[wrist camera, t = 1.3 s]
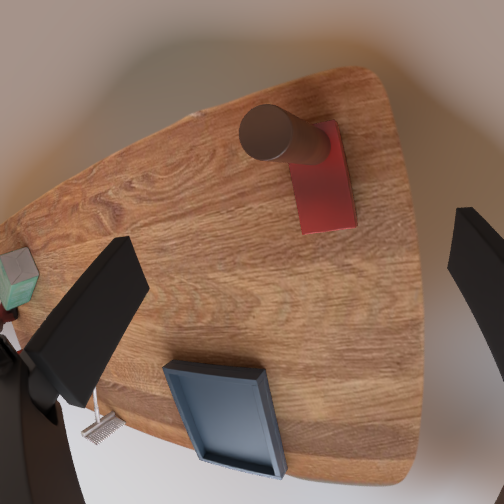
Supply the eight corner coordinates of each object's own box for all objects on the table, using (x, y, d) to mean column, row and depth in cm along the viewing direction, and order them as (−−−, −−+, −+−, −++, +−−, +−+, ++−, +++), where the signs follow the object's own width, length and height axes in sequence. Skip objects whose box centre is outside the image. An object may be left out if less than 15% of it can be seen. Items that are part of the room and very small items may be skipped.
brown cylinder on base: (292, 135, 26) (221, 114, 16) (340, 124, 24) (297, 89, 14) (311, 229, 28) (252, 264, 17) (360, 222, 25) (331, 256, 15)
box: (17, 276, 60) (-7, 284, 54) (27, 245, 54) (-2, 253, 47) (29, 302, 60) (4, 312, 53) (40, 275, 53) (11, 285, 47)
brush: (125, 292, 48) (83, 304, 39) (126, 423, 52) (96, 445, 43) (108, 286, 49) (67, 296, 40) (112, 415, 53) (81, 436, 44)
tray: (172, 359, 40) (161, 367, 38) (265, 368, 33) (256, 380, 31) (207, 451, 42) (199, 460, 40) (287, 468, 36) (281, 480, 34)
